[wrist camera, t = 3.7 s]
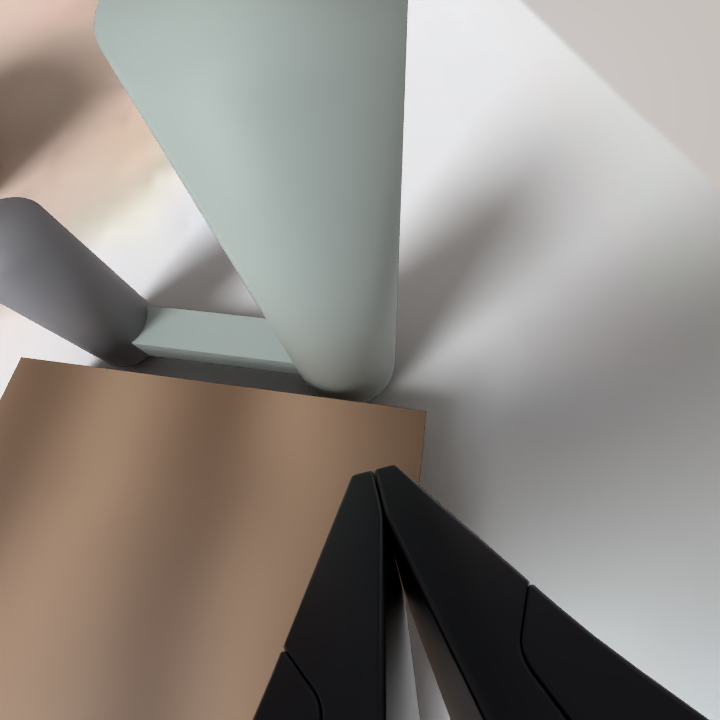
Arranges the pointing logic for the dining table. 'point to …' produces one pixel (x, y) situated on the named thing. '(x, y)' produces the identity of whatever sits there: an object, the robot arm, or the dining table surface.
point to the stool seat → (166, 535)
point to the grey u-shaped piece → (249, 188)
